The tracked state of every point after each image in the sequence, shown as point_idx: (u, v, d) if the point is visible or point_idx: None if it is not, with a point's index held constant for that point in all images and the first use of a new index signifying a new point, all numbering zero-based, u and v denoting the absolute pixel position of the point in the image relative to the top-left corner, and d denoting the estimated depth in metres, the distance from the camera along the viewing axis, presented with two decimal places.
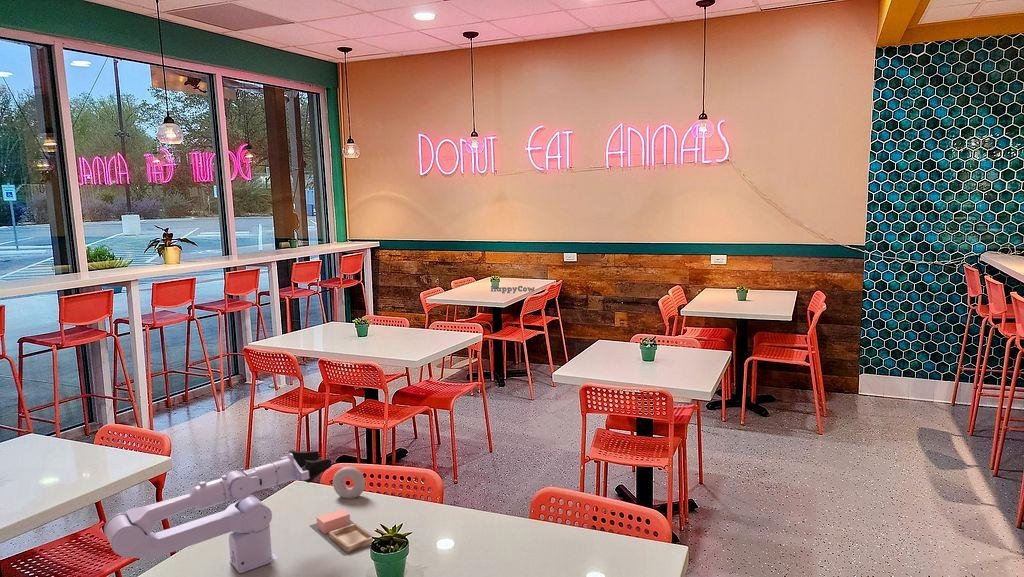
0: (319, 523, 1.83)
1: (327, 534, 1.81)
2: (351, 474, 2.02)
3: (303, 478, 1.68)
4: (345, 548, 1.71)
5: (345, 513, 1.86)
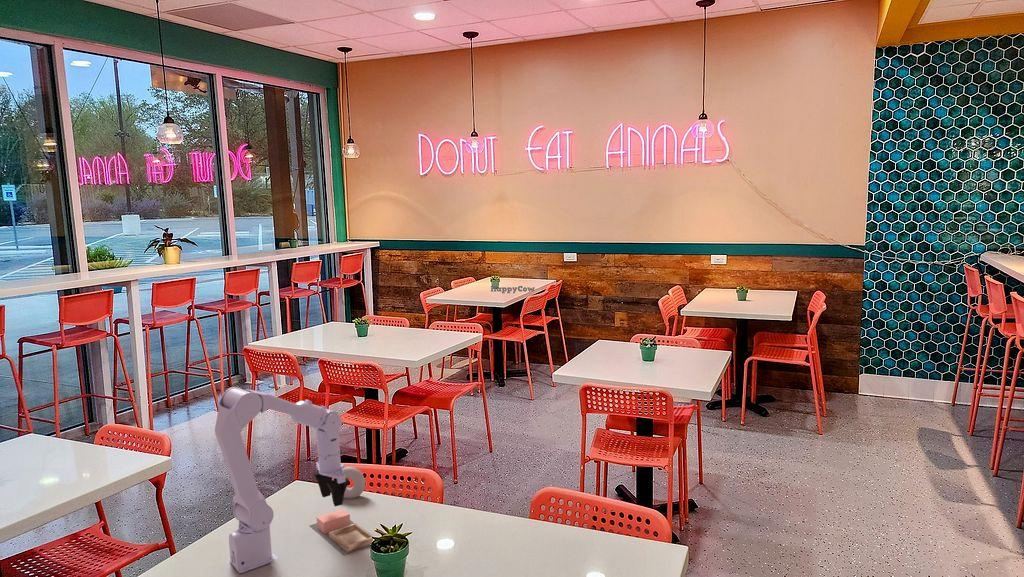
0: (319, 523, 1.83)
1: (327, 534, 1.81)
2: (351, 474, 2.02)
3: (340, 477, 1.78)
4: (345, 548, 1.71)
5: (345, 513, 1.86)
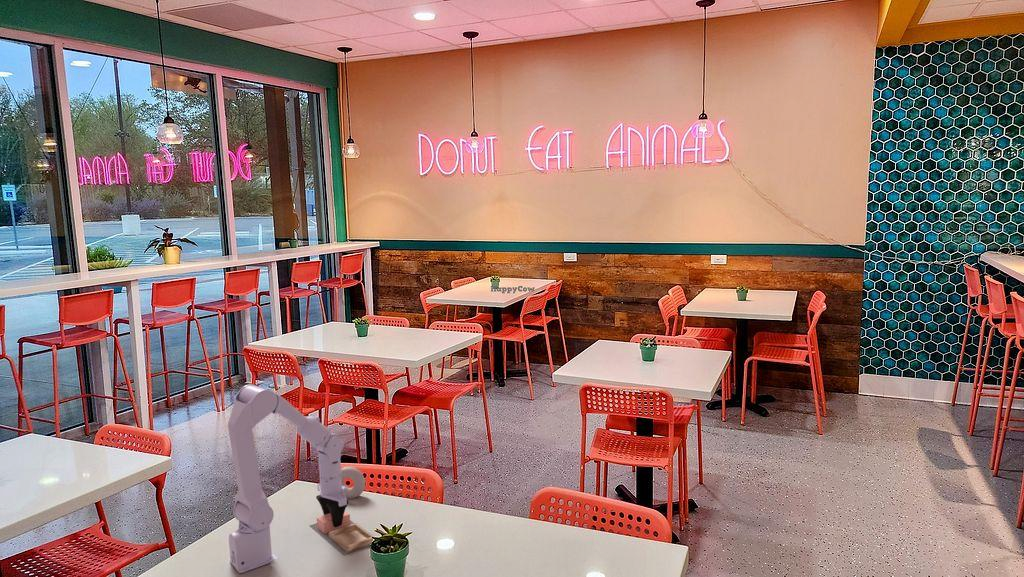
0: (319, 523, 1.83)
1: (327, 534, 1.81)
2: (351, 474, 2.02)
3: (341, 500, 1.78)
4: (345, 548, 1.71)
5: (345, 513, 1.86)
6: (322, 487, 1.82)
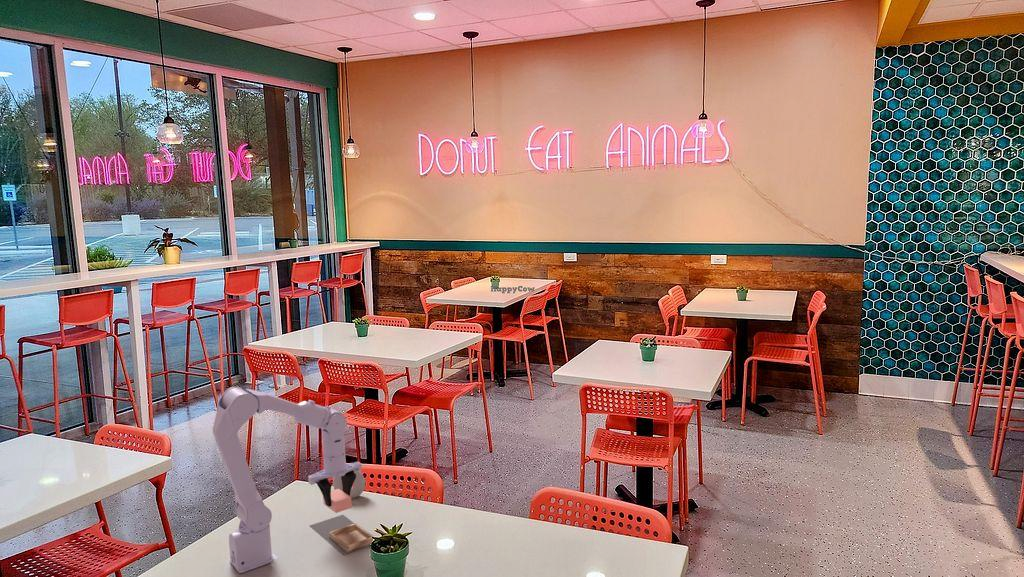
0: None
1: (327, 534, 1.81)
2: None
3: (308, 477, 1.77)
4: (345, 548, 1.71)
5: (338, 500, 1.79)
6: None
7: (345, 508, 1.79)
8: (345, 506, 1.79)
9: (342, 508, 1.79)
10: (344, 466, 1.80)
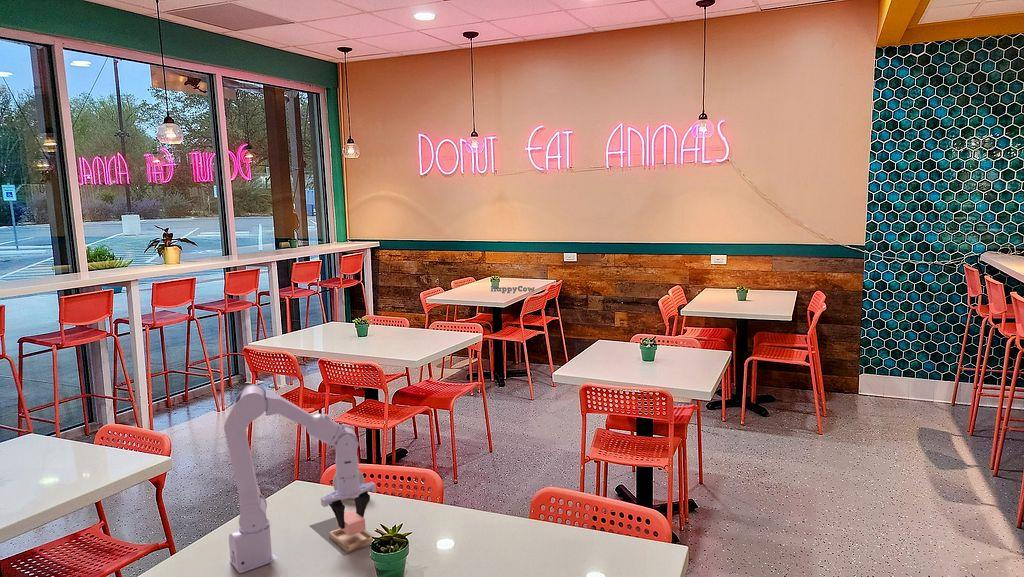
0: None
1: (327, 534, 1.81)
2: None
3: (321, 499, 1.71)
4: (345, 548, 1.71)
5: (351, 522, 1.73)
6: None
7: (359, 531, 1.74)
8: (359, 528, 1.74)
9: (356, 531, 1.73)
10: (358, 487, 1.74)
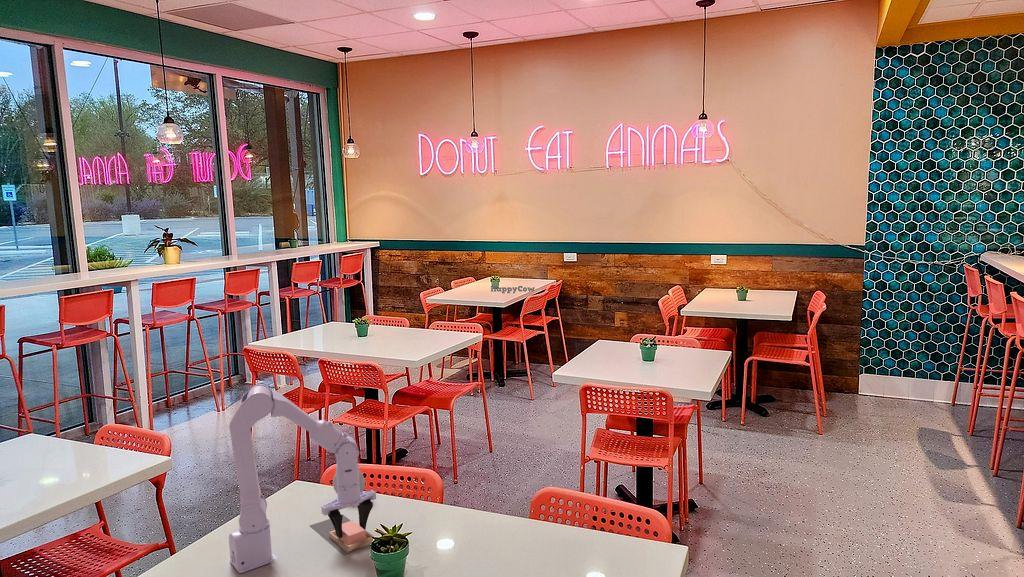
0: None
1: (327, 534, 1.81)
2: None
3: (322, 508, 1.71)
4: (345, 548, 1.71)
5: (352, 533, 1.73)
6: None
7: None
8: (359, 540, 1.74)
9: None
10: (358, 496, 1.75)
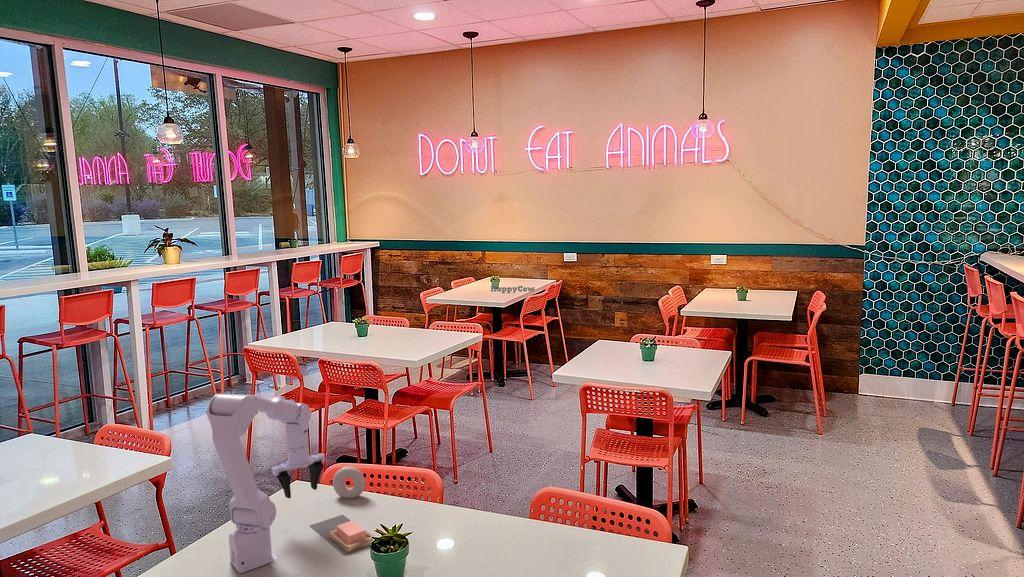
0: None
1: (327, 534, 1.81)
2: (351, 474, 2.02)
3: (272, 469, 1.81)
4: (345, 548, 1.71)
5: (352, 533, 1.73)
6: None
7: None
8: (359, 540, 1.74)
9: None
10: (307, 457, 1.85)
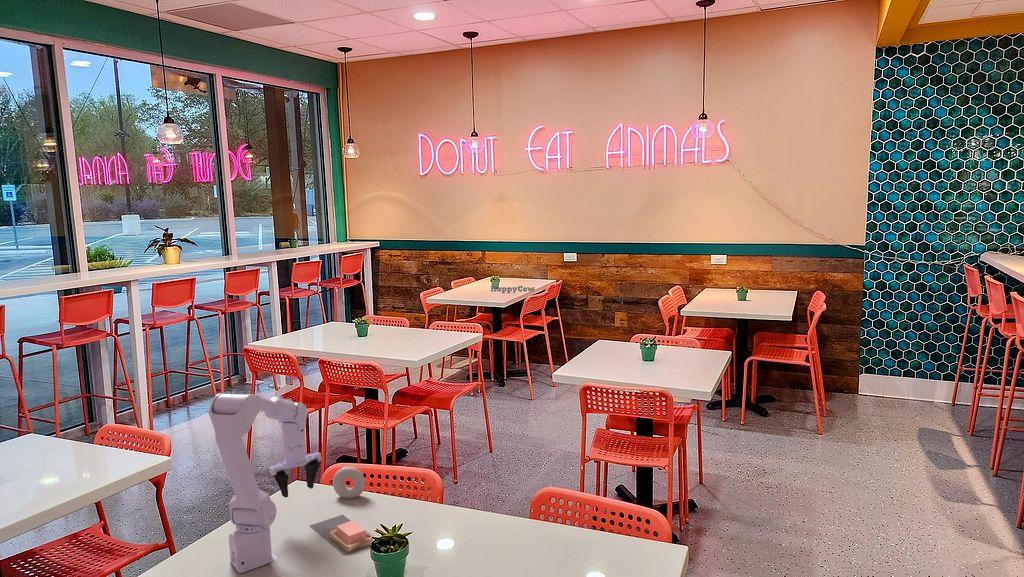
0: None
1: (327, 534, 1.81)
2: (351, 474, 2.02)
3: (270, 468, 1.82)
4: (345, 548, 1.71)
5: (352, 533, 1.73)
6: None
7: None
8: (359, 540, 1.74)
9: None
10: (304, 456, 1.86)
